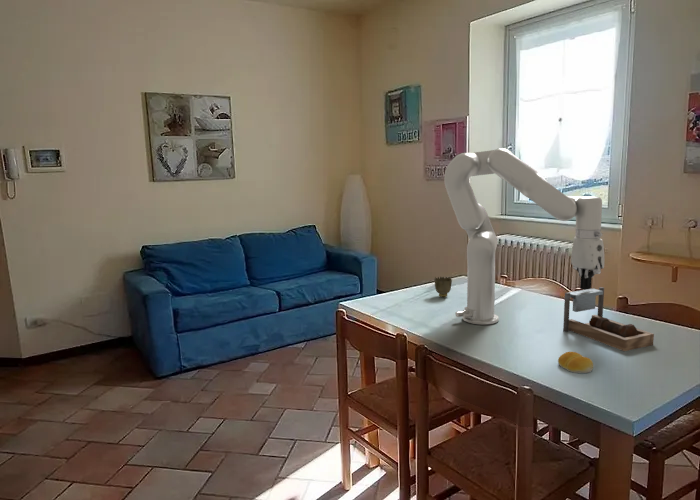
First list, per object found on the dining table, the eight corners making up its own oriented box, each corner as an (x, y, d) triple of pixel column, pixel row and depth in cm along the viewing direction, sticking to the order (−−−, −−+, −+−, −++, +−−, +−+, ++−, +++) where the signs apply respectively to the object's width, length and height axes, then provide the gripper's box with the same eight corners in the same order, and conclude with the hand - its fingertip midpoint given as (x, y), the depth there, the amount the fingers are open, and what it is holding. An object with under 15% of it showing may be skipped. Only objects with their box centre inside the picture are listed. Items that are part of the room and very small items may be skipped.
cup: (453, 298, 213) (453, 280, 212) (435, 299, 213) (435, 280, 212) (450, 294, 220) (450, 276, 219) (433, 294, 220) (433, 276, 219)
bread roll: (577, 376, 136) (578, 362, 135) (552, 364, 144) (553, 351, 143) (601, 371, 138) (601, 357, 138) (575, 359, 147) (576, 346, 146)
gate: (574, 313, 168) (575, 295, 167) (565, 310, 171) (566, 292, 170) (602, 308, 172) (603, 291, 171) (592, 305, 176) (593, 288, 175)
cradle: (618, 352, 150) (621, 310, 148) (562, 330, 171) (563, 292, 168) (658, 343, 156) (661, 302, 154) (599, 323, 177) (601, 287, 174)
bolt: (593, 332, 170) (632, 345, 156) (583, 326, 168) (621, 339, 154) (600, 316, 170) (640, 328, 157) (590, 310, 169) (629, 322, 155)
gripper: (615, 236, 162) (612, 292, 165) (578, 230, 176) (576, 282, 179) (597, 238, 159) (595, 295, 162) (561, 232, 173) (560, 285, 176)
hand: (585, 288), depth 170 cm, fingers closed
